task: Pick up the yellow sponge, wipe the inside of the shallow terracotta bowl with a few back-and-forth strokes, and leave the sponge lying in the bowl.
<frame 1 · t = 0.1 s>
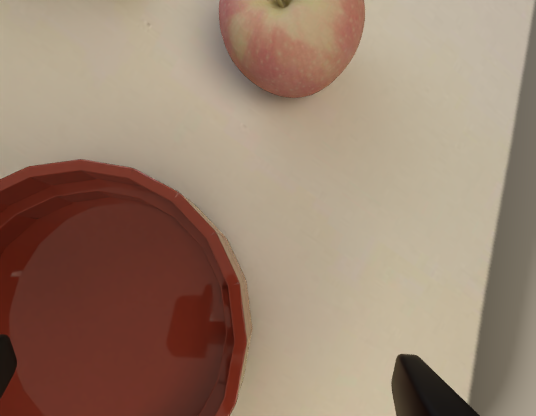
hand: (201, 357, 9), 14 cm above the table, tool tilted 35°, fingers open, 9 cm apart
apple: (288, 64, 25), on the table
wash bowl: (105, 323, 22), on the table
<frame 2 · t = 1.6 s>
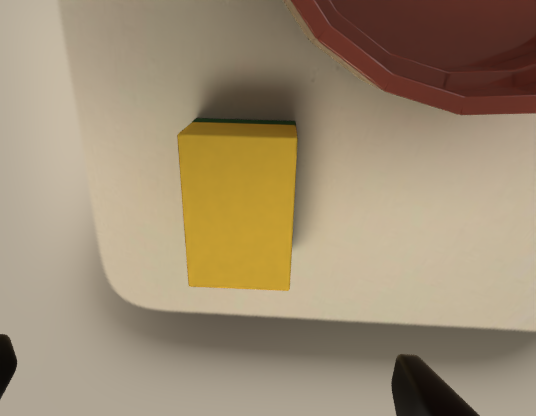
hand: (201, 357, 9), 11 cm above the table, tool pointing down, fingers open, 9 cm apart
sponge: (245, 190, 19), on the table
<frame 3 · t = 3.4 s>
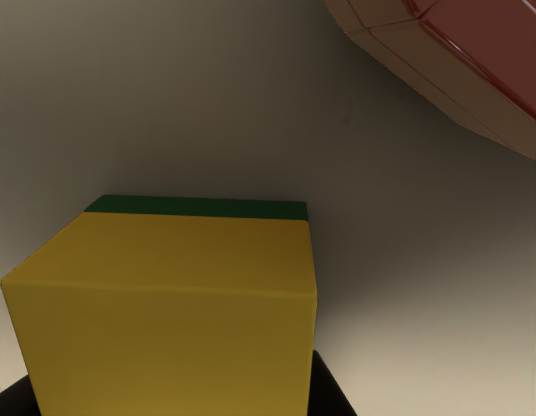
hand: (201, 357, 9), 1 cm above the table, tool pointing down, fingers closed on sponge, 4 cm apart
sponge: (209, 322, 10), on the table, touching gripper
when the fingers open (2 cm above the table, at t = 11.5 s): sponge stays where it is, resting on wash bowl.
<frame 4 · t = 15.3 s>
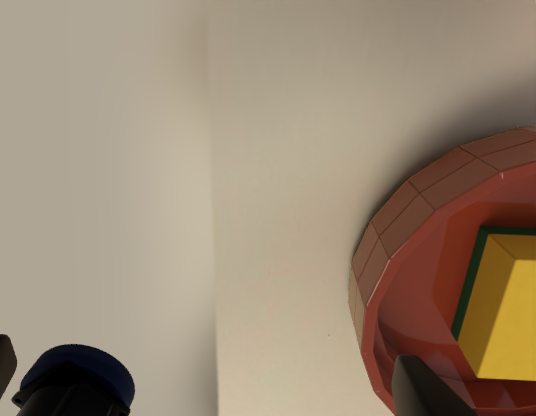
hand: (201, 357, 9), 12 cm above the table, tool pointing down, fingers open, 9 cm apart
sponge: (506, 283, 21), point 1 cm above the table, touching wash bowl
wash bowl: (501, 276, 21), on the table
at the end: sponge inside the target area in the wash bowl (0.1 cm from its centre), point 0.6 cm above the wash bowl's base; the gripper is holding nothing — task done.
